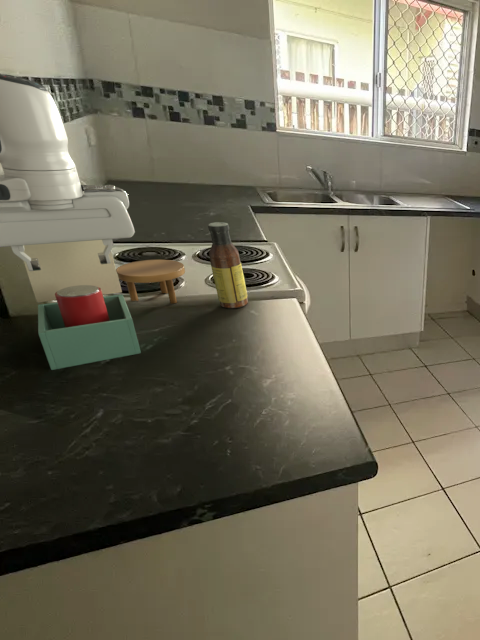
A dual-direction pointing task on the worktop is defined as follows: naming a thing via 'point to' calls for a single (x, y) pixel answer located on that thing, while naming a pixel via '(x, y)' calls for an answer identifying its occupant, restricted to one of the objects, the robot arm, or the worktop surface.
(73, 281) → the lid
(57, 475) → the worktop surface
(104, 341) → the box
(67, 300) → the can
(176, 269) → the stool
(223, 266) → the sauce bottle
